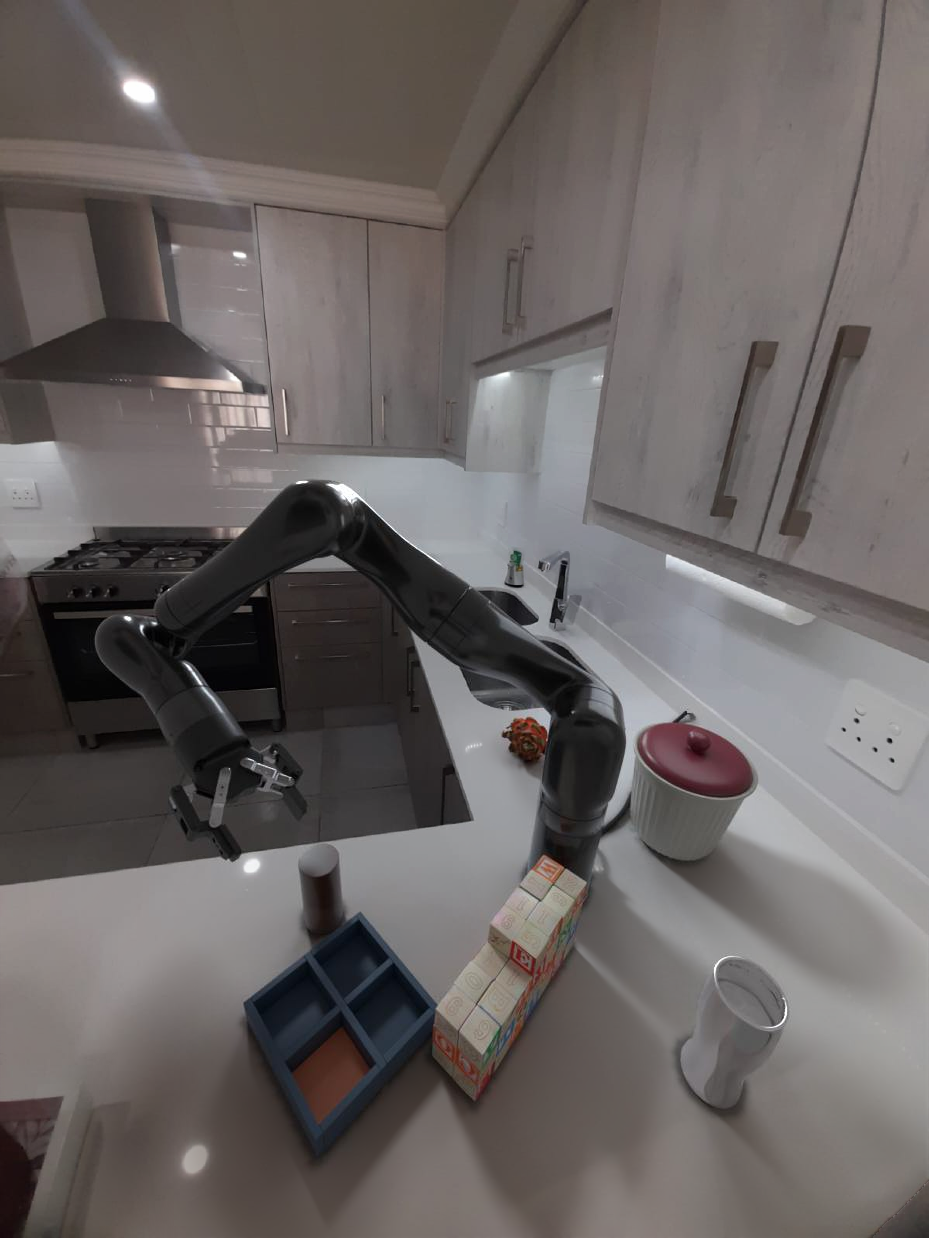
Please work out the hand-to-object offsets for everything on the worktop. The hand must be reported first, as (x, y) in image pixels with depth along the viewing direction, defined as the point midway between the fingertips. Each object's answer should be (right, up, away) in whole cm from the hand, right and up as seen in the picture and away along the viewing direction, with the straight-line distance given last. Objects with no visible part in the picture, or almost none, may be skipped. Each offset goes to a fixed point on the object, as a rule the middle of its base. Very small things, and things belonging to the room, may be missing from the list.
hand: (272, 835), depth 56 cm
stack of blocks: (+28, -21, +3) cm, 35 cm away
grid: (+9, -21, -1) cm, 23 cm away
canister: (+57, -12, +27) cm, 64 cm away
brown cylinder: (+3, -16, +10) cm, 19 cm away
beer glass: (+49, -25, -3) cm, 55 cm away
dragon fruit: (+35, -2, +44) cm, 56 cm away
